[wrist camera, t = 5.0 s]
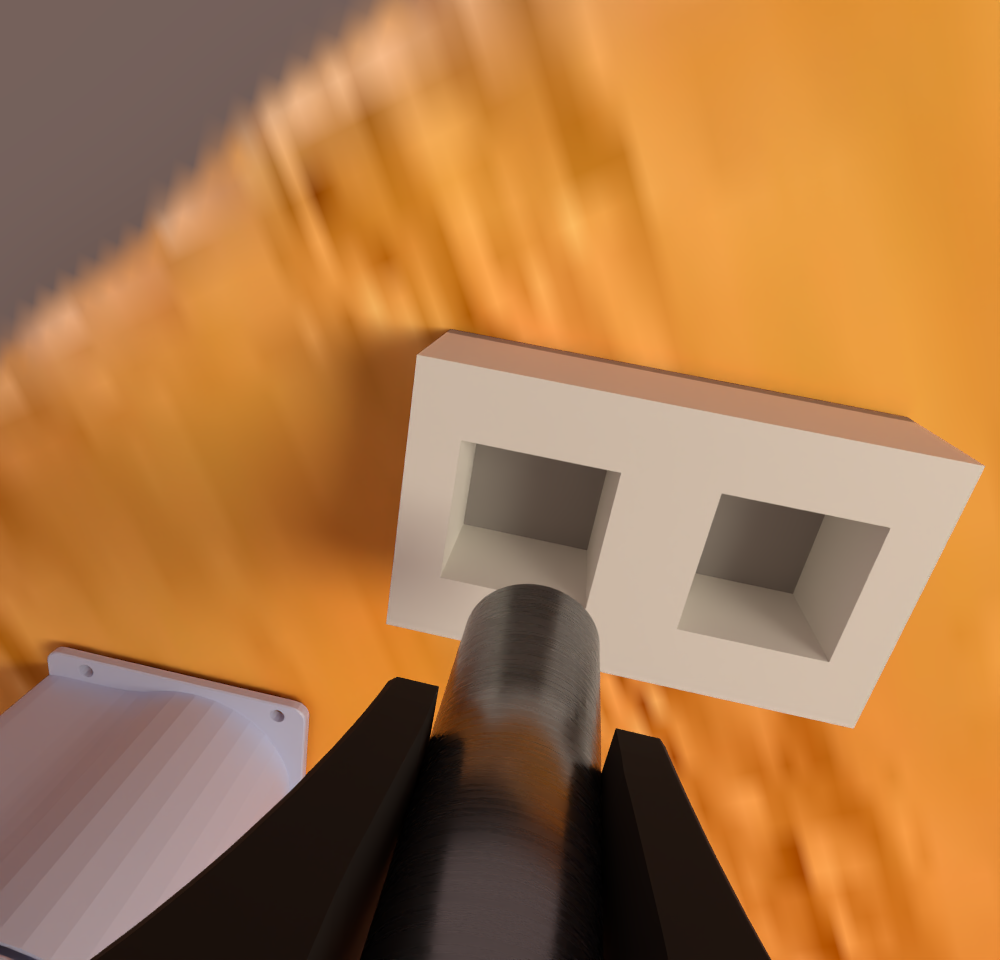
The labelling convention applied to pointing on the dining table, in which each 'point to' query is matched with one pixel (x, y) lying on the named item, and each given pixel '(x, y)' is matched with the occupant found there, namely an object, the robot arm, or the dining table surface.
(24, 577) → the dining table surface
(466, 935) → the pin
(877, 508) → the bore block
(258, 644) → the dining table surface
